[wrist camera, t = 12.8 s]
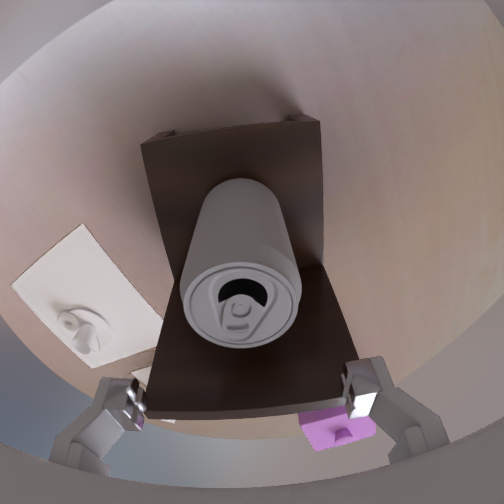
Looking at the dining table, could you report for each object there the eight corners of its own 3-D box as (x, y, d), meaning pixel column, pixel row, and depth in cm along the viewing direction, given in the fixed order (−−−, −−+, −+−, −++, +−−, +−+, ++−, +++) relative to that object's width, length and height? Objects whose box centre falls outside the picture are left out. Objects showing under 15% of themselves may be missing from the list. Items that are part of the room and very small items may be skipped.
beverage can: (286, 181, 24) (321, 263, 13) (272, 251, 27) (289, 357, 17) (205, 170, 23) (176, 246, 13) (199, 242, 26) (175, 347, 16)
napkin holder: (172, 405, 50) (168, 431, 45) (129, 372, 45) (122, 400, 40) (242, 386, 47) (243, 415, 42) (202, 347, 41) (198, 379, 37)
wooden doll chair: (158, 132, 27) (37, 218, 10) (304, 113, 26) (414, 169, 9) (186, 258, 34) (147, 419, 17) (311, 244, 34) (367, 401, 16)
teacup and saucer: (54, 313, 38) (43, 331, 35) (84, 295, 36) (72, 315, 33) (92, 350, 42) (84, 369, 39) (124, 337, 40) (117, 358, 37)
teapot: (361, 391, 50) (378, 448, 39) (309, 406, 51) (319, 464, 40) (350, 321, 40) (377, 395, 29) (280, 343, 41) (290, 420, 31)
